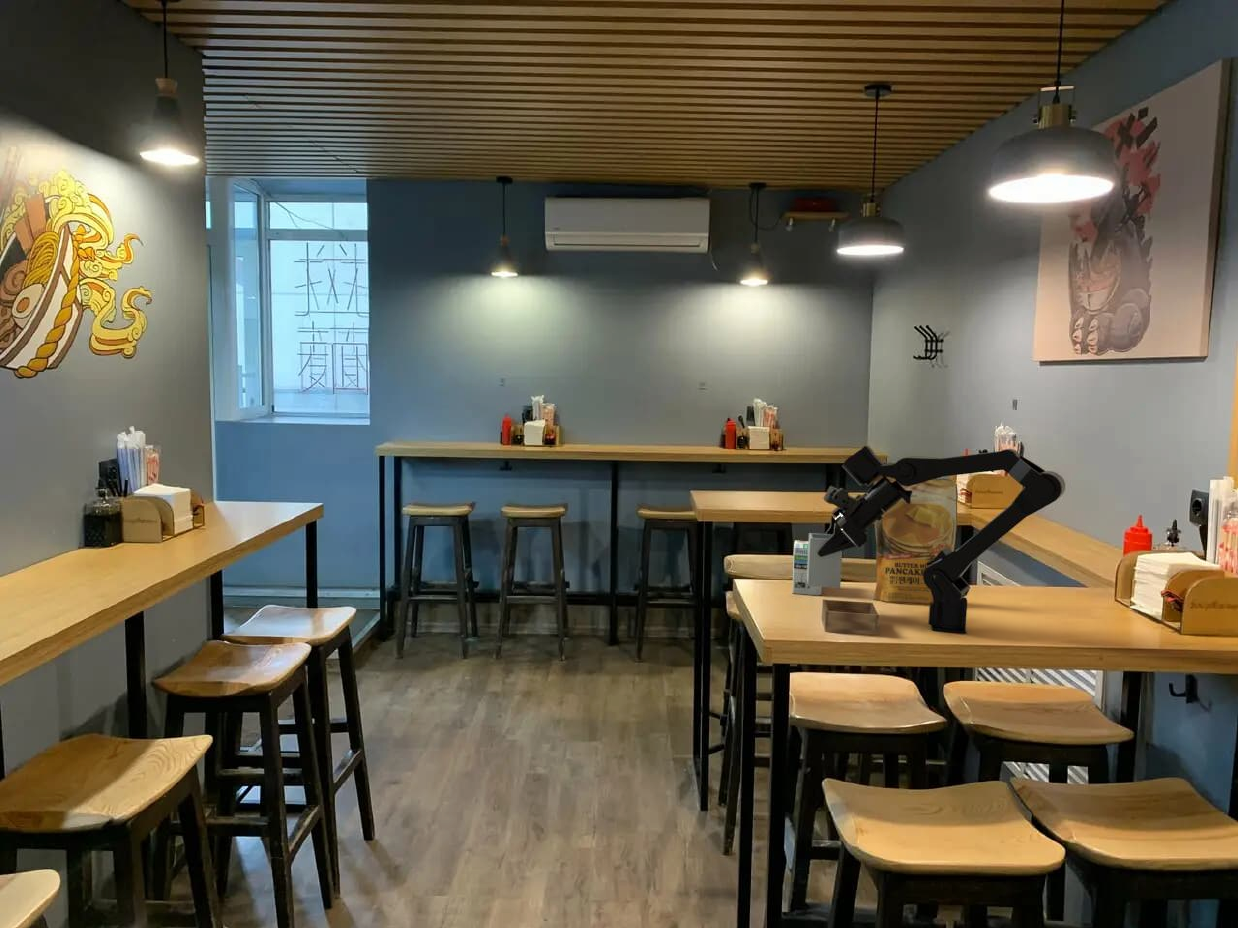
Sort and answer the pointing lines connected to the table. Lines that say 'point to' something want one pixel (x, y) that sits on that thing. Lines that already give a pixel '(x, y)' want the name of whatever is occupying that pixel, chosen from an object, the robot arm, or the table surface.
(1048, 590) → the table surface
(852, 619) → the walnut crate
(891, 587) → the pancake mix bag
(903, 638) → the table surface
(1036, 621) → the table surface
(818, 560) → the grey crate
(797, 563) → the light bulb box
